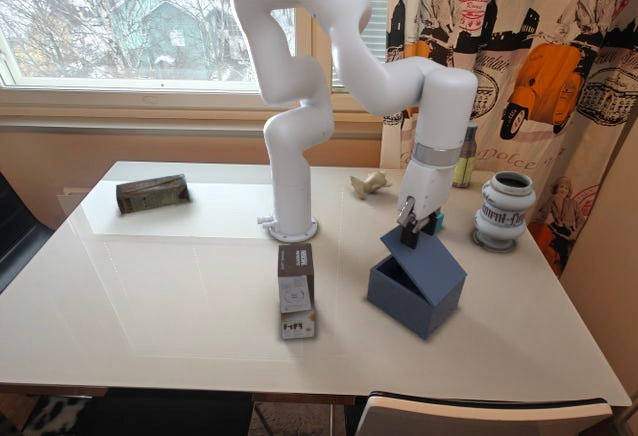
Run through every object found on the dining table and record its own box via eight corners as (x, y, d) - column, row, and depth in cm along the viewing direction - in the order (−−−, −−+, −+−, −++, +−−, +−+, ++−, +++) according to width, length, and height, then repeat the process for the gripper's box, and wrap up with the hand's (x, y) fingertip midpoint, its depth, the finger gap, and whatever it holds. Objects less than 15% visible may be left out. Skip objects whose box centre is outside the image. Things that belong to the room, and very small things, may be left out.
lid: (379, 238, 72) (395, 225, 67) (415, 214, 78) (431, 200, 74) (432, 307, 69) (452, 298, 64) (465, 276, 75) (485, 265, 71)
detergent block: (432, 235, 101) (435, 220, 99) (417, 227, 104) (420, 213, 101) (441, 227, 104) (444, 214, 101) (426, 221, 106) (429, 207, 104)
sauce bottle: (466, 179, 126) (481, 120, 115) (471, 189, 121) (486, 128, 110) (446, 178, 126) (458, 119, 115) (449, 188, 121) (463, 127, 110)
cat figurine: (346, 173, 116) (383, 159, 116) (349, 188, 122) (384, 175, 122) (355, 193, 111) (394, 178, 112) (358, 207, 117) (395, 193, 117)
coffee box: (315, 337, 74) (315, 275, 65) (282, 339, 74) (277, 277, 64) (312, 301, 82) (311, 242, 72) (281, 303, 81) (277, 243, 72)
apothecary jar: (459, 237, 100) (475, 176, 90) (486, 221, 106) (504, 162, 96) (501, 261, 92) (524, 197, 82) (528, 243, 98) (552, 181, 88)
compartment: (366, 299, 82) (369, 268, 77) (399, 273, 89) (404, 243, 84) (425, 340, 74) (433, 308, 69) (456, 308, 80) (466, 277, 75)
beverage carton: (191, 202, 114) (187, 182, 110) (120, 217, 107) (113, 196, 104) (187, 189, 120) (183, 170, 116) (120, 203, 113) (113, 183, 110)
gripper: (443, 129, 69) (425, 212, 80) (384, 158, 59) (372, 249, 70) (483, 143, 65) (458, 229, 75) (426, 176, 55) (407, 270, 66)
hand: (417, 238), depth 73 cm, fingers closed on lid, 5 cm apart
